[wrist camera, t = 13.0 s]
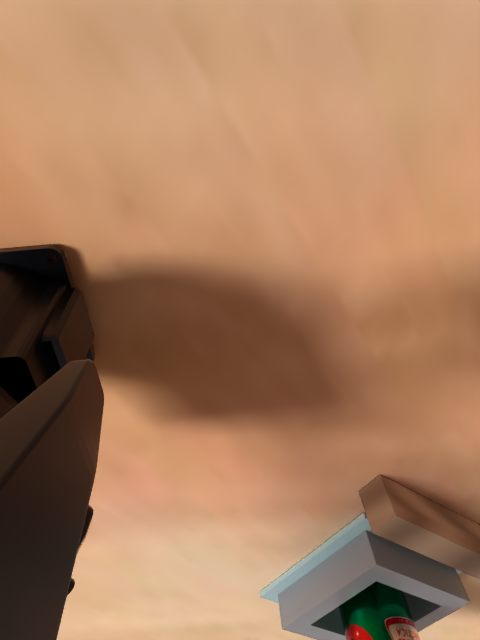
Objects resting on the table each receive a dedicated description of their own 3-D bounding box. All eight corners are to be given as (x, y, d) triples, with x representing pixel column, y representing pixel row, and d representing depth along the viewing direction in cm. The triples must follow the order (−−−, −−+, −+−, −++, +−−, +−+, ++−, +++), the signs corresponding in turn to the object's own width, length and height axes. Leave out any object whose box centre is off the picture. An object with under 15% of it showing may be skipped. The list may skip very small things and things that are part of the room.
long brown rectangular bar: (358, 491, 31) (372, 533, 28) (379, 474, 30) (395, 515, 27) (501, 558, 36) (523, 598, 34) (522, 546, 36) (546, 585, 33)
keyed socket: (259, 591, 37) (263, 631, 34) (363, 512, 32) (376, 552, 30) (365, 626, 41) (375, 663, 39) (470, 560, 36) (489, 599, 34)
